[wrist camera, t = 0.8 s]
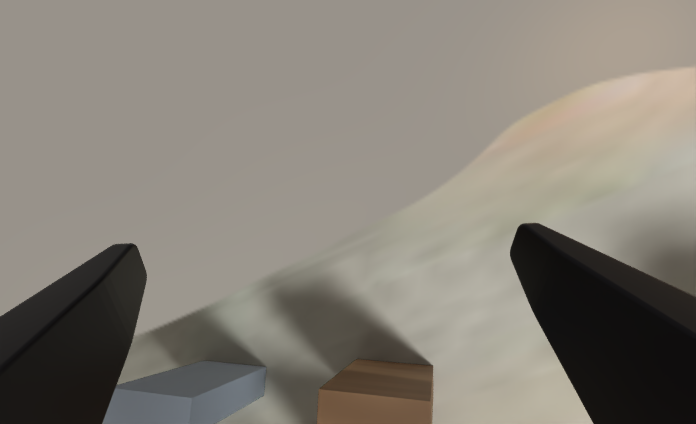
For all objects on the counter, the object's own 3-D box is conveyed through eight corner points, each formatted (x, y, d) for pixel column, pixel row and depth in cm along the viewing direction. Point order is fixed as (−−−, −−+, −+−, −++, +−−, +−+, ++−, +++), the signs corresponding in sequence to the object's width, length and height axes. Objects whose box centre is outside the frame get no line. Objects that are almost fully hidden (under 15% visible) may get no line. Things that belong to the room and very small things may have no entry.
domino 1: (263, 395, 25) (186, 440, 17) (200, 387, 26) (102, 426, 18) (266, 366, 25) (192, 398, 18) (203, 360, 26) (108, 387, 19)
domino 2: (433, 397, 23) (430, 450, 15) (355, 389, 24) (316, 434, 16) (433, 365, 23) (430, 401, 15) (356, 359, 24) (318, 389, 16)
